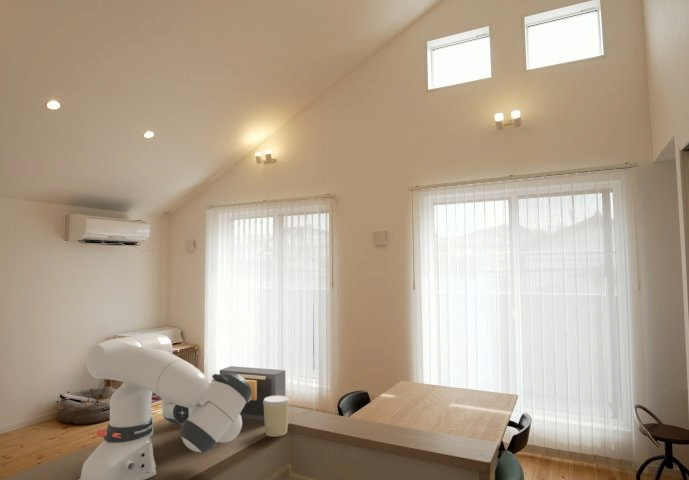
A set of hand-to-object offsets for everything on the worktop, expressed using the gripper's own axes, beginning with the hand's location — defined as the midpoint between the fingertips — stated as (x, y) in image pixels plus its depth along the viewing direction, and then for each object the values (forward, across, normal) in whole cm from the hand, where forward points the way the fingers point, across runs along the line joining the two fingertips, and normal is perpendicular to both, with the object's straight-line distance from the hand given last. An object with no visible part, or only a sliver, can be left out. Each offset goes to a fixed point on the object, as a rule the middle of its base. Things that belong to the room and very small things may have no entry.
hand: (236, 389), depth 172 cm
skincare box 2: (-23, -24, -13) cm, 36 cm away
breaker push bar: (+2, 0, -4) cm, 4 cm away
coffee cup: (-2, +19, -13) cm, 23 cm away
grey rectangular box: (+11, 0, -13) cm, 17 cm away
